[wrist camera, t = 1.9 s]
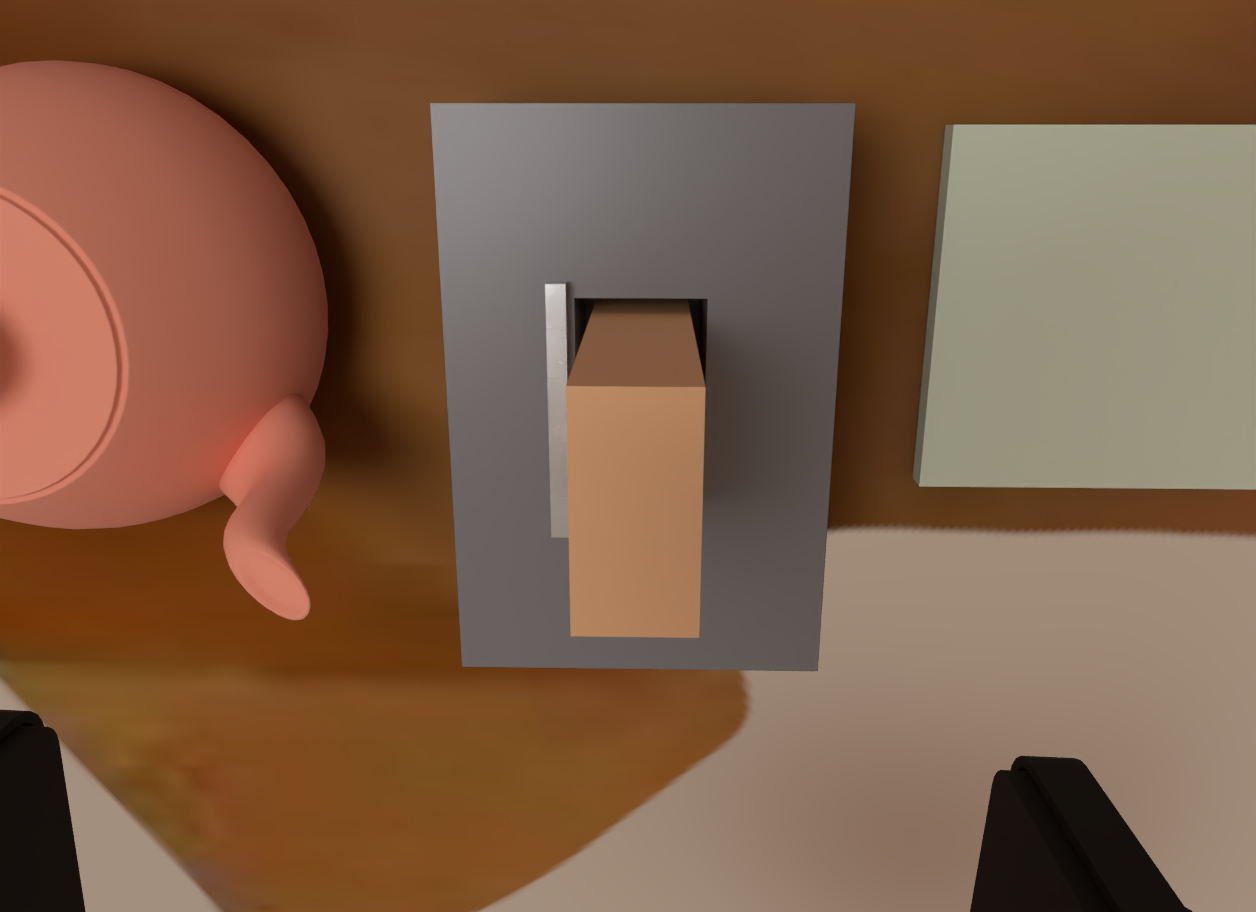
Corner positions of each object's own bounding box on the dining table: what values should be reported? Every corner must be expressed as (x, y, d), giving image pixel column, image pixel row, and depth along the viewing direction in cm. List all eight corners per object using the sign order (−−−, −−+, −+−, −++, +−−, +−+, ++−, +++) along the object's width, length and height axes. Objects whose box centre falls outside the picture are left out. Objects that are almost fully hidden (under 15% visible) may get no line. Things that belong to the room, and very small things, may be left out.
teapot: (522, 326, 37) (460, 414, 25) (299, 618, 41) (157, 812, 29) (-3, -77, 34) (-362, -193, 22) (-192, 287, 38) (-583, 357, 26)
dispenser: (816, 109, 35) (859, 102, 27) (790, 582, 40) (820, 680, 33) (472, 109, 35) (425, 102, 28) (493, 578, 40) (459, 675, 33)
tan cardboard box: (685, 290, 35) (705, 386, 21) (682, 454, 36) (699, 638, 23) (599, 290, 35) (565, 385, 21) (601, 454, 37) (570, 636, 23)
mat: (1324, 124, 34) (1343, 124, 33) (1252, 480, 38) (1267, 489, 37) (945, 124, 35) (953, 124, 34) (912, 477, 39) (919, 486, 38)
